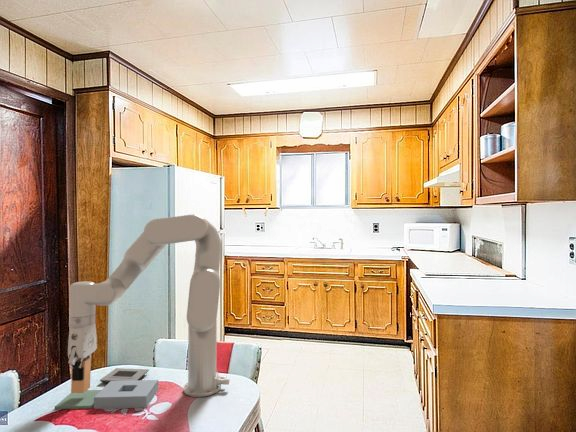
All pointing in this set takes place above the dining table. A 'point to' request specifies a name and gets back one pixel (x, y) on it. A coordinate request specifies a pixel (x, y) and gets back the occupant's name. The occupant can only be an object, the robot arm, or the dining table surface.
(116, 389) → the grey socket block
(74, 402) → the mat
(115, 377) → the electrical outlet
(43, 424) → the dining table surface
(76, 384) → the plug
